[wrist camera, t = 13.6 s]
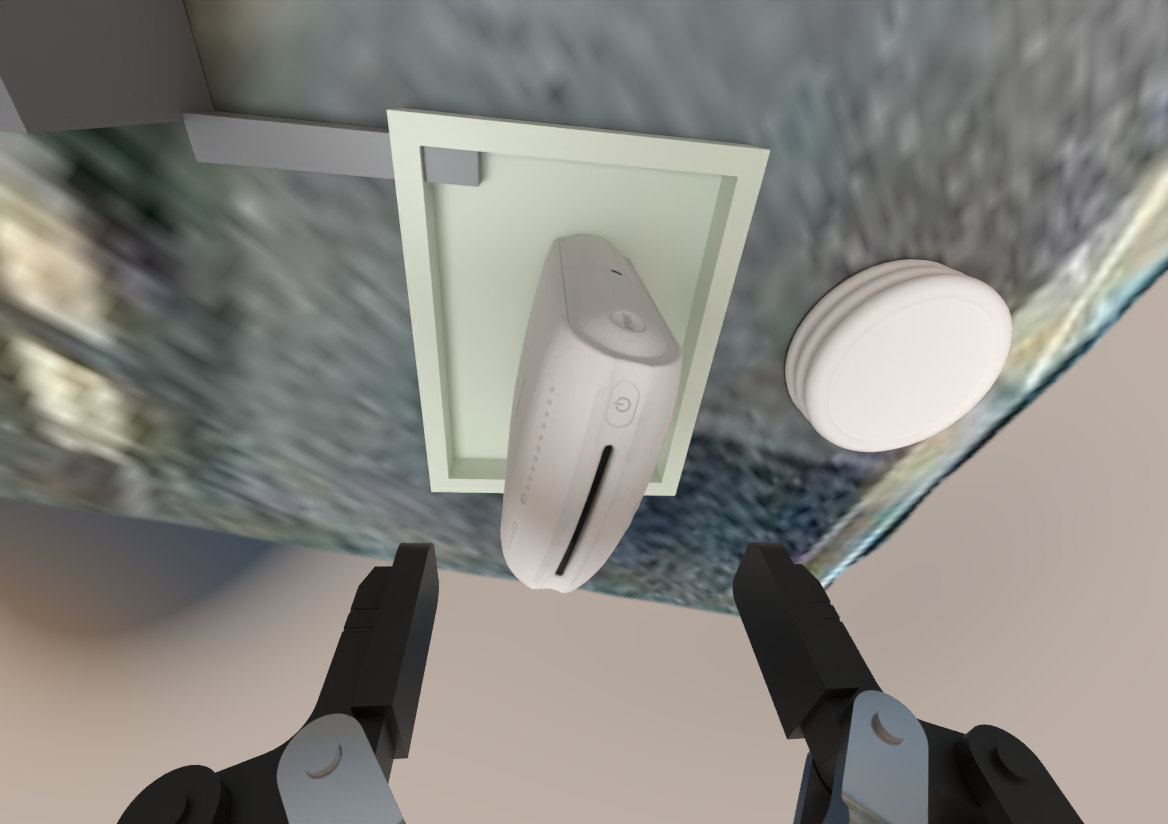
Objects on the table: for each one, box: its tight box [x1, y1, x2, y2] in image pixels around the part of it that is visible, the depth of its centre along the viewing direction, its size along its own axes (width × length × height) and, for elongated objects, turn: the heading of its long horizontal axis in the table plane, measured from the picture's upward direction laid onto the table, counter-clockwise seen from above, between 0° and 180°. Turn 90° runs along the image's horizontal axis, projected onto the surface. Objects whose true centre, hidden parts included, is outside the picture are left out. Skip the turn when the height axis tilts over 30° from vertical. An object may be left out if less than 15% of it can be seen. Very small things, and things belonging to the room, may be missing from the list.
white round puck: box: [785, 259, 1013, 452], centre depth 25 cm, size 10×10×4 cm
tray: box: [387, 108, 770, 496], centre depth 23 cm, size 18×14×2 cm
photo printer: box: [501, 234, 683, 593], centre depth 18 cm, size 10×4×12 cm, turn 164°
